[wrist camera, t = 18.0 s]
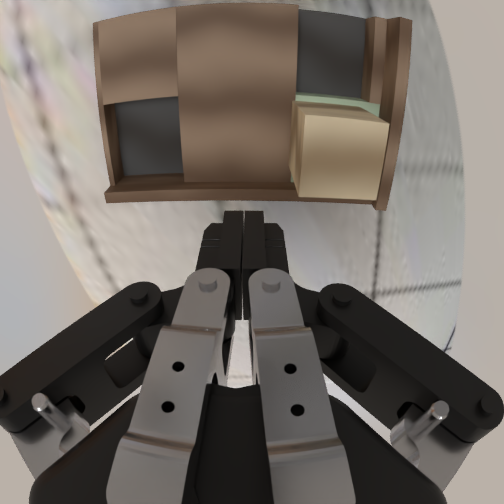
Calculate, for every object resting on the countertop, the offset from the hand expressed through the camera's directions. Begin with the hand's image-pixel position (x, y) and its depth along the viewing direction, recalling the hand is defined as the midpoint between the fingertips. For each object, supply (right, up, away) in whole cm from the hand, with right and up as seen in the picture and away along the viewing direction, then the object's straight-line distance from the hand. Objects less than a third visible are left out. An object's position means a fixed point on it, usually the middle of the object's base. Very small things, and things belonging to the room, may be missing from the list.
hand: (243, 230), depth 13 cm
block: (+6, +8, +11) cm, 15 cm away
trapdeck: (0, +12, +11) cm, 17 cm away
